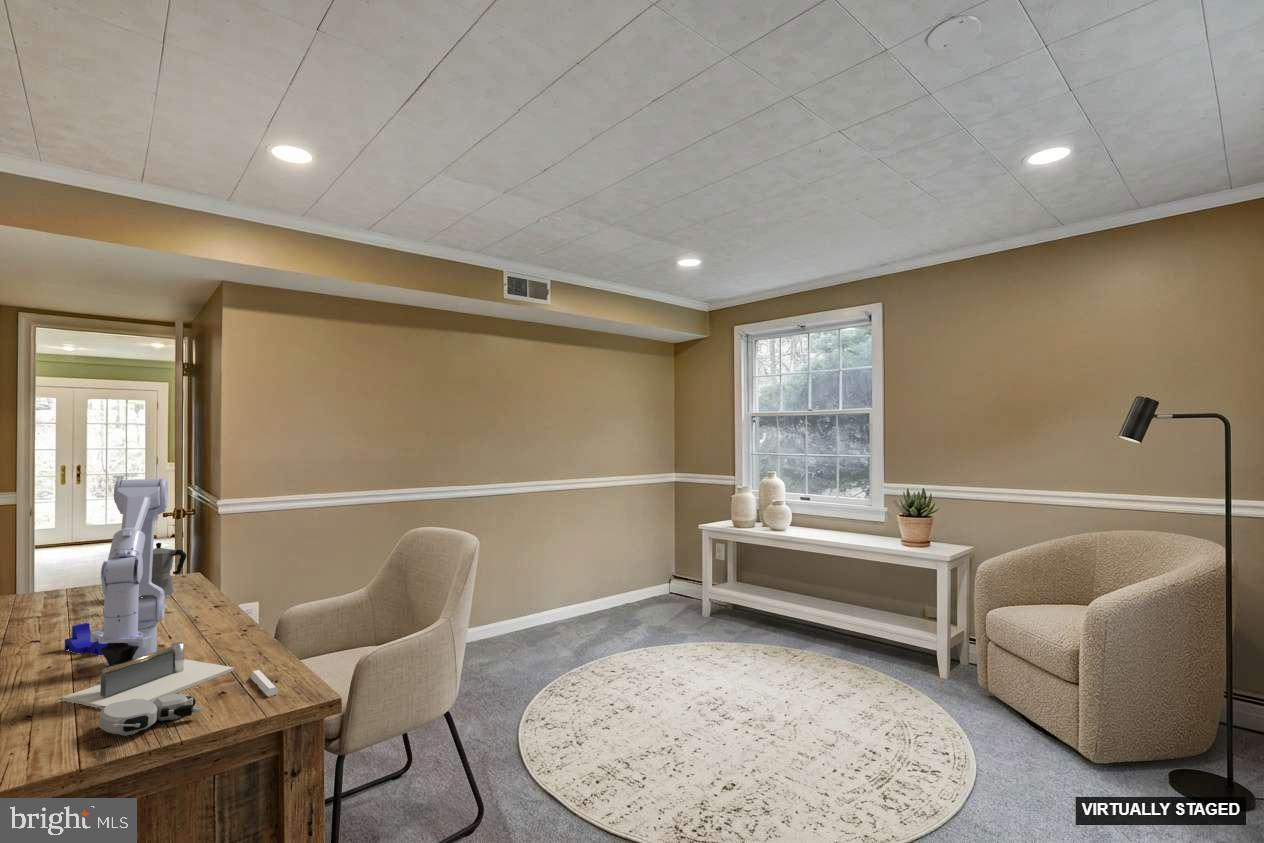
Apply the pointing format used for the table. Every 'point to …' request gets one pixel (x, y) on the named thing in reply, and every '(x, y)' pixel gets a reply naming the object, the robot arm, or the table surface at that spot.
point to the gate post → (178, 657)
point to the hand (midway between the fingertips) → (120, 677)
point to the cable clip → (83, 640)
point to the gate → (136, 671)
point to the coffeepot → (165, 568)
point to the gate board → (154, 685)
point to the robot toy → (144, 713)
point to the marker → (263, 683)
